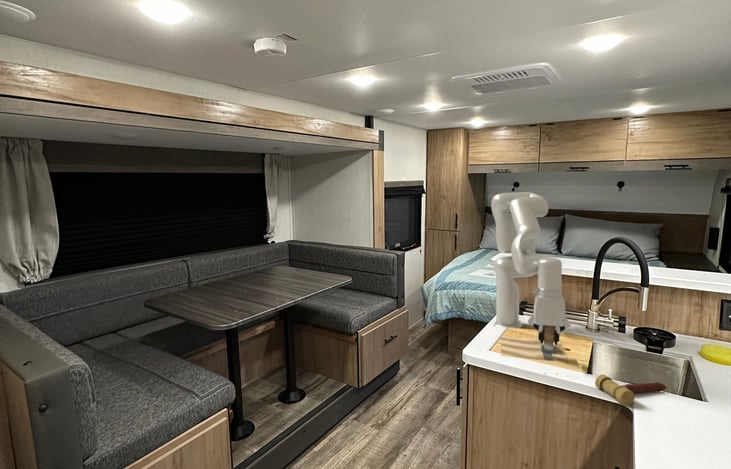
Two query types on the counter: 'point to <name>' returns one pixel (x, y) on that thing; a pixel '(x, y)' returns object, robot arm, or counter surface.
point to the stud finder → (548, 350)
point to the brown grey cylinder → (548, 337)
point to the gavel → (626, 389)
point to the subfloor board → (529, 349)
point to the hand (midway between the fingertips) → (548, 342)
